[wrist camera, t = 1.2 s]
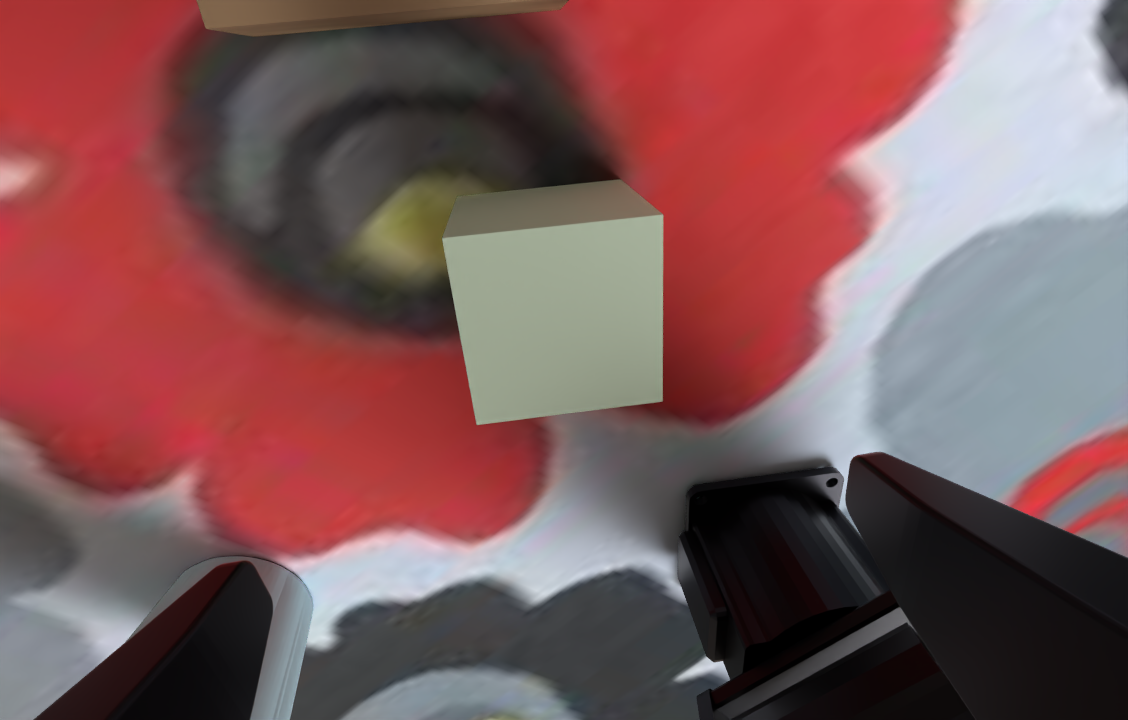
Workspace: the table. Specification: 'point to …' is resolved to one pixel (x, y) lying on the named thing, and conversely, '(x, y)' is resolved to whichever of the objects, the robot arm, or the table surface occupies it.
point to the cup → (283, 636)
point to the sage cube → (558, 299)
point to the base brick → (349, 13)
